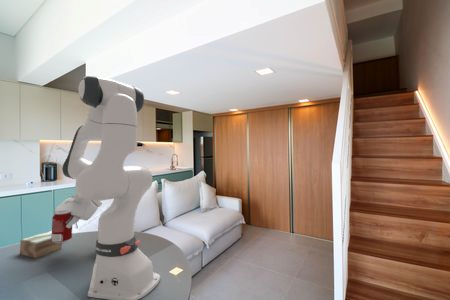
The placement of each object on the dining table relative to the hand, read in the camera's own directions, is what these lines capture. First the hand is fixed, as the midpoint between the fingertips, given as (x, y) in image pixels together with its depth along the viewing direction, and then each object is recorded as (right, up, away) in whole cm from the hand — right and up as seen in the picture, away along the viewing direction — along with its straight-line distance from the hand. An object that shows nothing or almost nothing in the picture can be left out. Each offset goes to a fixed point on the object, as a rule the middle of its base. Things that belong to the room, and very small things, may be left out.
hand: (60, 225), depth 88 cm
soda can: (0, -7, 0) cm, 7 cm away
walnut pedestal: (-12, -12, +4) cm, 18 cm away
